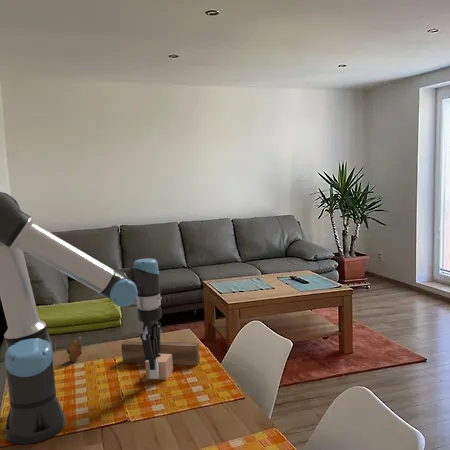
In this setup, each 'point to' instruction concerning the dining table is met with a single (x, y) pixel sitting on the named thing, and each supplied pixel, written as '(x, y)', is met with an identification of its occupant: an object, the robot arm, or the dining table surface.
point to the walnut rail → (162, 352)
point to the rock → (74, 350)
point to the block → (162, 366)
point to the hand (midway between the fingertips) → (154, 377)
